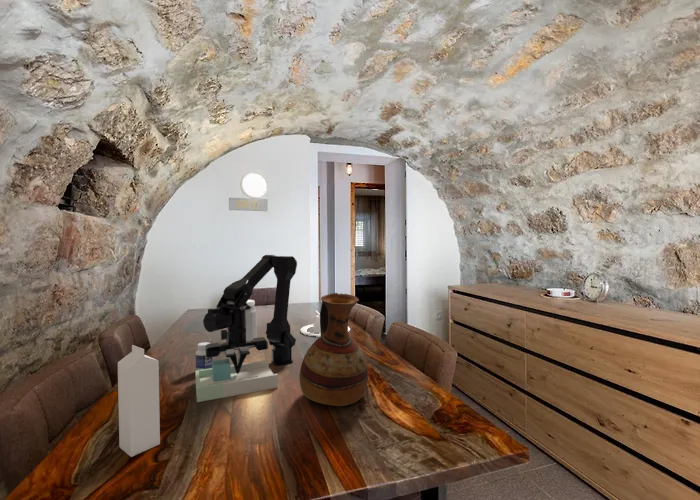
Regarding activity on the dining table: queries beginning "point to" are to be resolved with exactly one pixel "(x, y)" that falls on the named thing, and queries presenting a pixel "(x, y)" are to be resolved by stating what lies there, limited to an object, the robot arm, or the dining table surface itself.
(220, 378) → the block
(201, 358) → the pill bottle
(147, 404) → the milk
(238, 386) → the box
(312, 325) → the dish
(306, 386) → the ceramic pitcher
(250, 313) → the jar
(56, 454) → the dining table surface
